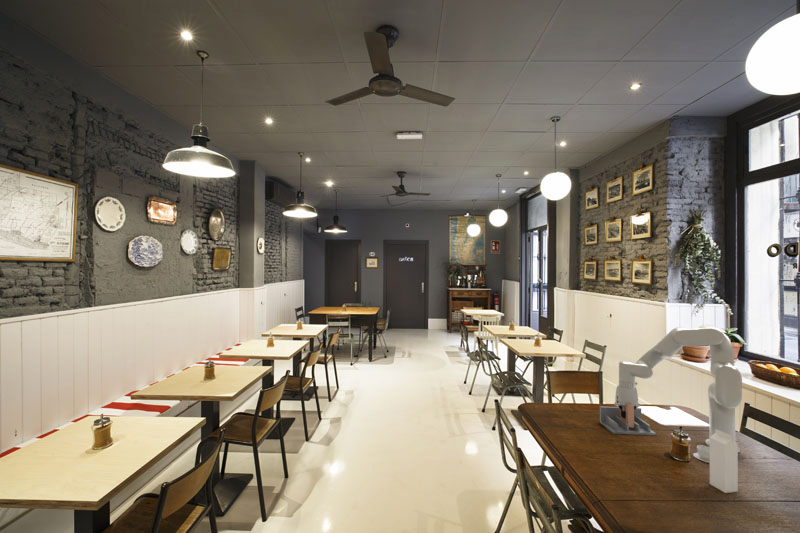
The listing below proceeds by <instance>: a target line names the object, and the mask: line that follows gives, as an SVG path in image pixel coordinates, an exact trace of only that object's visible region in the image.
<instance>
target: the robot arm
mask: <svg viewBox="0 0 800 533" xmlns="http://www.w3.org/2000/svg"><path fill="white" fill-rule="evenodd" d="M703 346H704V347H706V346H708V347H709V348H710V368H709V370H710V373H711V375H712V376H713V377H714V382H712V383H710V384H709V386H708V387H707V396H708V404H709V405H708V406H709V407H708V408H709V413H708V414H709V415H708V417H709V418H708V419H709V423H708V424H709V427H708V428H709V429H708V430H709V431H708V432H709V434H708V435H709V438H707V439H705V444H706V446H708V447H710V437H711V436H712V435H713V434H714V433H715V430H716V429H717V430H719V431H722V432H724V433H726V434H729V435H731V440H733V441H735V442H736V408H737V407H739V406H741V403H742V399H743V377H742V373H741V371H740V370H739V369H738V368H737V367H735V356H734V354H735V353H734V352H735V351H734V346H733V344H732V342H731V340H730V339H729V337H728V336H727V334H725V333H724V332H723V331H722V330H720V328H718V327H715V326H713V325H709V324H703V325H700V326H699V327H698V328H685V327H682V326H677V327H674V328H673V329H672V330H670V331H669V332H668V333H667V334H666V335H665V336H664V337H663V338H662V339H661V340H660V341H659V342H658V343H657V344H655V345H654V346H653V347H651V349H650V350H647V351H646V352H645V353H644V354H643V355H642V356H641V357H640V358H639V359H638V360H637V361H636V362H635V363H634V362H633V361H628V360H621V361H619V362H618V385H616V389H615V397H614V398H615V401H614V403H613V404H614V407H619V408H620V409H621V416H622V417H623V418H624V419H626V411H625V406H626V404H633V405H634V410H635V409H636V408H637V407H640V406H641V405H640V402H639V394H638V390H637V387H636V386H637V385H638V382H637V381H636V378H640V379H650V378H652V377H653V375H654V373H653V372H654V370H653V369H654V368H655V367H656V365H658V364H659V363H660V362H662V361H665V360H669V359H671V358H672V357H674V356H675V355H676V354H677V353H678V352H679V351H680V350H681V349H682V348H683V347H703ZM740 451H742V448H741V447H739V446H738V453H740Z"/></svg>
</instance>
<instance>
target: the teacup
mask: <svg viewBox="0 0 800 533" xmlns="http://www.w3.org/2000/svg"><path fill="white" fill-rule="evenodd" d="M696 451H697V452H694V453H692V455H693V457H694V458H695V459H698V460H700V461H702V462H705V463H709V464H710V446H708V445H702V444H700V445H699V444H698V445H697V446H696Z"/></svg>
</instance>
